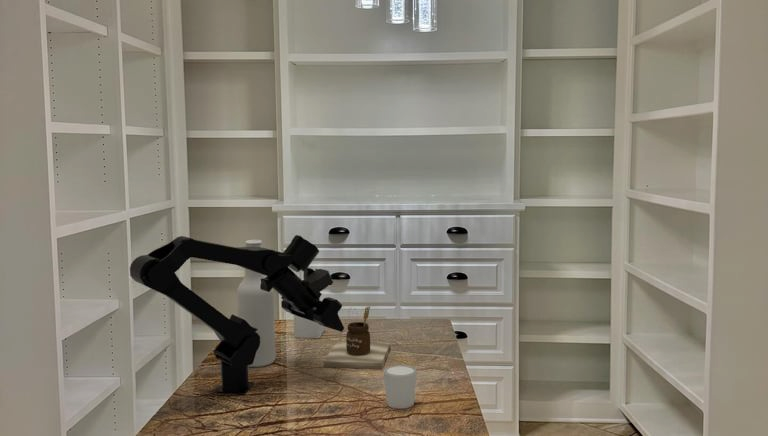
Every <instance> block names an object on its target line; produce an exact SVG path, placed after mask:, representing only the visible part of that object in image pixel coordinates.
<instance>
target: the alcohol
mask: <svg viewBox="0 0 768 436" xmlns="http://www.w3.org/2000/svg"><path fill="white" fill-rule="evenodd" d="M244 244H245V246H244V247H262V248H263V245H262V244H263V241H262V240H261V239H250V240H248V239H247V240H246V241H245V242H244ZM266 277H267V276H266V275H263V274H260V273H256V272H253V271H250V270H248V269H245V268H244V277H243V280H242V281H241V282H240V284H239V285H238V287H237V291H236V310H237V312H236V314H237V315H236V316H237V317H240V318H242V319H244V320H245V321H247V322H248V324H249V325H250V326H252V327H254V328H256V329H258V330H257V331H255V332H257V333H258V334H259V336H260V346H259V348H258V350H257V351H256V355H255V358H254V362H253V364H251V365H248V368H261V367H267V366H270V365H272V364H273V363H274V362H275V360H276V357H277V356H276V353H277V352H276V328H275V326H276V325H275V322H276V321H275V294H274V293H275V292H274V291H275V290H274V288H272V289H271V290H270V292H267V291H264V290H261V289H260V285H261V278H266Z"/></svg>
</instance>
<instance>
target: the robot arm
mask: <svg viewBox="0 0 768 436" xmlns="http://www.w3.org/2000/svg"><path fill="white" fill-rule="evenodd" d="M319 253H320V250H319V248H318V247H317V246H316V245H315V244H314V243H312V242H310V241H308V240H307V239H305V238H304V237H302V235H298V234H295V235H294V237H293V238H292V239H291V242H290V243H289V244H288V245H287V247H286V248H285V249H284V251H283V252H281V251H276V250H273V249H271V248H270V249H269V248H266V247H263V246H262V247H245V246H241V247H239V246H237V247H235V246H230V245H225V244H219V243H215V242H209V241H204V240H198V239H193V238H191V237H188V236H184V235H182V236H177V237H175V238H174V239H172V240H171V241H170V242H168V243H166V244H164V245H163V246H160V247H157V248H156V249H154V250H152V251H151V252H149V253H147V254H144V255H143V254H142V255H139V256H138V257H136V258H135V259H133V260H132V262H131V264H130V267H129V276H130V277H131V279H133V280H134V282H136V283H139V284H141V285H142V286H145V287H147V288H149V289H151V290H153V291H155V292H157V293H160V294H162V295H164V296H165V297H167V298H168V299H169V300H171V301H172V302H174V303H175V304H176V305H178V306H179V307H181V308H182V309H183V310H185V311H186V312H187V313H189V314H190V315H191V316H193V317H194V318H195V319H196V320H198V321H199V322H201V323H203V324H204V325H205V326H207V328H210V329H211V331H213V332H214V333H215V335H216V336H217V338H218V340H219V341H220V342H219V343H218V345H217V346H215V348H214V349H213V351H212V352H213V354H214V356H215V359H216V360H219V361H220V370H221V371H220V372H221V386H220V387H219V388H217V389H216V391H215V393H216V394H224V395H225V394H227V395H228V394H229V395H246V394H247V393H248V391H249V390H250V389H251V388H252V387H253V386H254V385H255V382H254V381H249V367H248V365H251V364H253V362H254V358H255V355H256V351H257V350H258V348H259V346H260V336H259V334H258V333H257V332H255V331H257V330H258V329H256V328H254V327H252V326H250V325H249V324H248V322H247V321H245V320H244V319H242V318H240V317H238V316H237V315H235V314H231V315H230V317H229V318H228V317H227V316H226V315H225V314H223V313H221V312H220V311H219V310H218V309H217V308H215V307H214V306H212V305H211V304H210V303H208V301H207V300H204V299H203V298H202V297H201V296H199V295H198V294H197V293H196V292H195V291H193V290H192V289H190V288H189V287H187V286H186V285H184V284H183V282H181V280H180V278H179V277H178V275H177V274H176V272H177V271H179V270H180V269H181V268H182V266H183V265H185V263H186V262H187V261H188V260H190V258H194V259H199V260H205V261H212V262H218V263H223V264H229V265H235V266H238V267H241V268H242V269H244V270H245V269H248V270H250V271H253V272H256V273H260V274H263V275H265V277H266V278H261V285H260V289H261V290H264V291H267V292H270V290H271V289H272V288H273V290H274V291H276V292H277V294H279V295H280V296H281V297H280V299H281V300H282V301H281V303H280V304H281V308H282V309H283V310H284V311H285V312H287V313H289V314H291V315H293V316H294V315H296V316H299V317H302V318H305V319H308V320H311V321H314V322H317V323H319V325H322V326H324V328H328V329H332V330H334V331H338V332H342V333H343V331H344V330H345V326H344V325H343V322H342V321H341V319H340V317H339V316H340V315H339V312H340V311H341V309H342V307H343V304H342V303H341V302H340V301H339V300H338V299H335V298H332V297H324V298H323V299H322V300H317V299H318V298H321V296H322V295H323V294H322V293H321V292H322V291H323V290H325V289H327V288H328V287H329V286H331V285H333V283H334V280H333V278H332V276H331V274H330V271H329V270H328V269H322V268H315V269H313V268H310V267H309V266H310V265H311V264H312V262H313V261H314V260H315V259H316V257H317V256H318V255H319ZM300 271H302V272H303V280H302V279H301V278H300V277H299V276H298V275H297V274H296V273H300Z"/></svg>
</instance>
